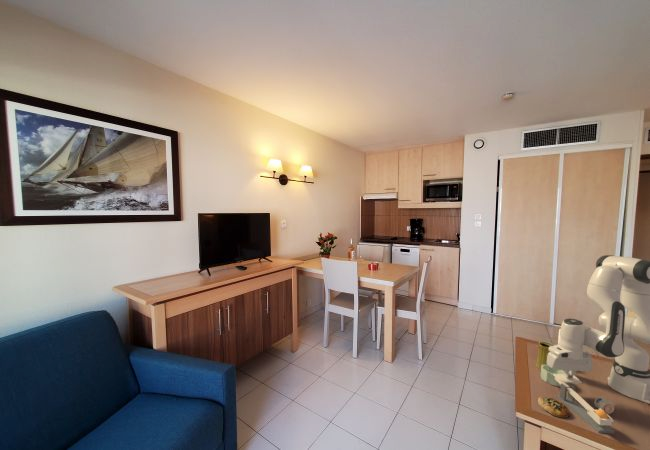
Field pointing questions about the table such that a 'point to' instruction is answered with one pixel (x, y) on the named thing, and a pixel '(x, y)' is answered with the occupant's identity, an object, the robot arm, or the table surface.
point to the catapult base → (580, 409)
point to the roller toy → (604, 405)
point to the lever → (563, 380)
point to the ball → (601, 414)
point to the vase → (542, 355)
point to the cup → (550, 375)
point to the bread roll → (553, 407)
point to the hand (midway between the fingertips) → (568, 377)
